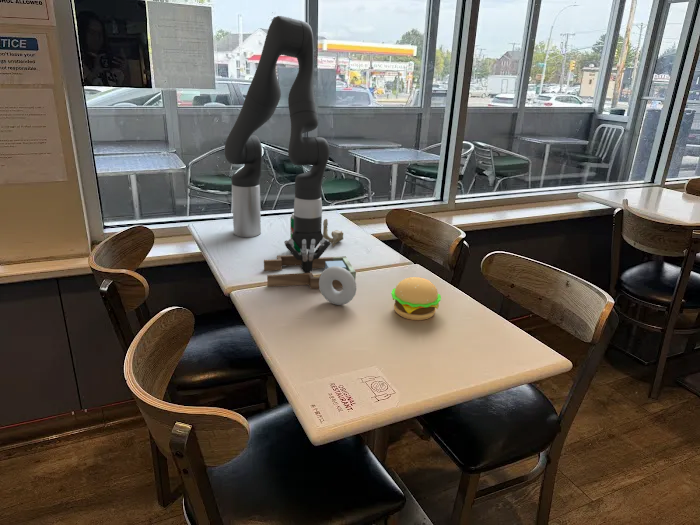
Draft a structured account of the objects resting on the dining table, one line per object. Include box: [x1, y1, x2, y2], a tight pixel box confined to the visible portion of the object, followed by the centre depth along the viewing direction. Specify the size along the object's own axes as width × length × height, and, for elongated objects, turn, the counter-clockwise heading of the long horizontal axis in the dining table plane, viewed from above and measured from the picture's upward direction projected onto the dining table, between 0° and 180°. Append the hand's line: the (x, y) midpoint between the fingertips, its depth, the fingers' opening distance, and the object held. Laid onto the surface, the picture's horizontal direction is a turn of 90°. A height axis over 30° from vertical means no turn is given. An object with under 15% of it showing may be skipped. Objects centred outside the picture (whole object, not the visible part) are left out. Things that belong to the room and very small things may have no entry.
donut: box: [319, 266, 357, 306], centre depth 122 cm, size 10×4×10 cm, turn 65°
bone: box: [322, 218, 344, 247], centre depth 164 cm, size 9×6×10 cm
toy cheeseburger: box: [390, 276, 442, 321], centre depth 120 cm, size 12×12×9 cm
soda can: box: [289, 212, 301, 254], centre depth 155 cm, size 5×5×12 cm
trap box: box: [263, 254, 357, 290], centre depth 139 cm, size 18×24×3 cm
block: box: [324, 261, 346, 270], centre depth 140 cm, size 5×5×4 cm
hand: (306, 272), depth 139 cm, fingers closed
